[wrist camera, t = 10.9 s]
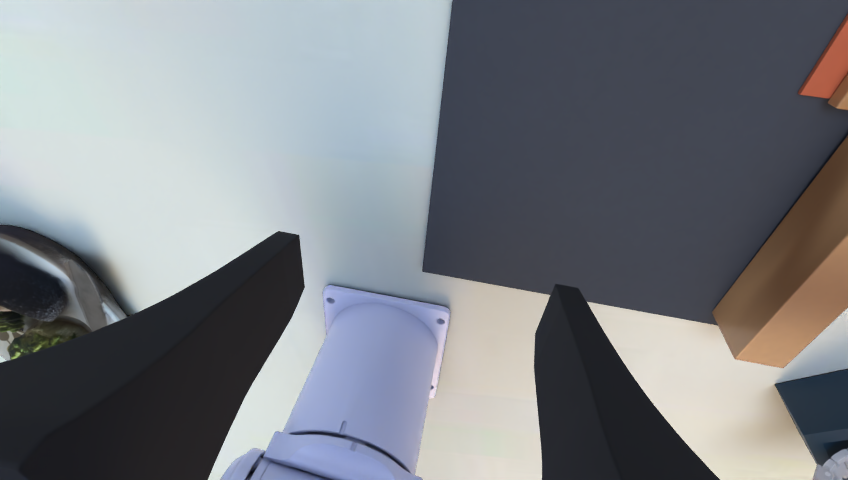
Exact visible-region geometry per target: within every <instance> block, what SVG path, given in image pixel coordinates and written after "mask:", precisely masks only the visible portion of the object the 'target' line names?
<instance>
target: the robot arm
mask: <svg viewBox="0 0 848 480" xmlns="http://www.w3.org/2000/svg"><path fill="white" fill-rule="evenodd" d="M304 288H305V286H304V277H303V267H302V258H301V249H300V239H299V235H296V234H291V233H286V232H280V231H278V232H276V233H275V234H273V235H271V236H270V237H268V238H267V239H265V240H264V241H262V242H260V243H259V244H257V245H256V246H254V247H253V248H251V249H250V250H248V251H247V252H245V253H244V254H242V255H240V256H239V257H237V258H236V259H234V260H233V261H231V262H229V263H228V264H226V265H225V266H223V267H221V268H220V269H218V270H217V271H215V272H213V273H212V274H210V275H208V276H206V277H205V278H203V279H201V280H199V281H198V282H196V283H194V284H192V285H191V286H189V287H187V288H185V289H184V290H182V291H180V292H178V293H176V294H174V295H173V296H171V297H169V298H167V299H165V300H163V301H161V302H159V303H157V304H155V305H153V306H150V307H148V308H146V309H144V310H142V311H140V312H138V313H136V314H133V315H131V316H129V317H127V318H124V319H122V320H119V321H117V322H114V323H112V324H110V325H107V326H105V327H102V328H100V329H97V330H95V331H93V332H90V333H88V334H85V335H82V336H80V337H77V338H74V339H72V340H69V341H66V342H63V343H61V344H58V345H55V346H52V347H49V348H46V349H43V350H40V351H37V352H34V353H31V354H28V355H25V356H22V357H18V358H15V359H12V360H9V361H5V362H2V363H0V480H208V477H209V475H210V473H211V470H212V468H213V465H214V463H215V461H216V459H217V456H218V454H219V452H220V450H221V447H222V445H223V443H224V441H225V438H226V436H227V434H228V432H229V429H230V427H231V425H232V423H233V421H234V419H235V417H236V415H237V413H238V410H239V408H240V406H241V404H242V402H243V400H244V398H245V396H246V394H247V392H248V390H249V389H250V387H251V385H252V383H253V381H254V380H255V378H256V377H257V375H258V373H259V372H260V370H261V368H262V367H263V365H264V363H265V362H266V360H267V358H268V357H269V355H270V353H271V352H272V350H273V348H274V347H275V345H276V343H277V342H278V340H279V338H280V337H281V335H282V333H283V332H284V330H285V328H286V326H287V325H288V323H289V321H290V320H291V318H292V316H293V313H294V311H295V309H296V307H297V304H298V302H299V300H300V297H301V295H302V292H303V290H304ZM331 298H333V299H331ZM323 302H324V313H325V324H326V335H327V336H326V338H325V340H324V343H323V345H322V347H321V349H320V351H319V354H318V356H317V358H316V360H315V362H314V364H313V367H312V369H311V371H310V373H309V375H308V377H307V380H306V382H305V384H304V386H303V388H302V391H301V393H300V395H299V397H298V399H297V401H296V404H295V406H294V408H293V410H292V412H291V414H290V417H289V419H288V421H287V423H286V425H285V428H284V430H283V432H278V431H277V432H275V433H274V435H273V437H272V439H271V442H270V444H269V446H268V448H267V450H266V452H265V451H264V450H261V449H258V448H253V449H251V450H250V451H248V452H247V453H246V454H244V455H242V456H240V457H239V458H237V459H236V460H234V461H233V462H232V464H231V465H230V466H229V467H228V469H227V470H226V472H225V473H224V475H223V476H222V478H221V479H220V480H423V479H422V478H421V477H418V476H416V475H415V471H416V466H417V460H418V455H419V450H420V444H421V439H422V433H423V428H424V422H425V417H426V411H427V406H428V400H429V398H434V397H435V396H436V391H437V385H438V380H439V374H440V369H441V363H442V358H443V352H444V347H445V342H446V336H447V331H448V325H449V320H450V314H451V313H450V310H449V309H448V308H447V307H444V306H439V305H434V304H429V303H423V302H418V301H413V300H407V299H402V298H397V297H391V296H386V295H381V294H375V293H370V292H365V291H360V290H354V289H349V288H344V287H338V286H333V285H328V286H326V287H325V288H324V290H323ZM440 319H443V320H440ZM534 371H535V383H536V395H537V406H538V416H539V427H540V438H541V450H542V480H720V479H719V478H718V477H717V476H716V475H715V474H714V473H713V472H712V471H711V470H710V469H709V468H708V467H707V466H706V465H705V464H704V462H703V461H702V460H701V459H700V458H699V457H698V456H697V455H696V454H695V453H694V452H693V451H692V450H691V448H690V447H689V446H688V445H687V444H686V443H685V442H684V441H683V439H682V438H681V437H680V436H679V435H678V434H677V433H676V431H675V430H674V429H673V428H672V427H671V425H670V424H669V423H668V422H667V421H666V419H665V418H664V417H663V416H662V414H661V413H660V412H659V411H658V410H657V408H656V407H655V406H654V405H653V403H652V402H651V401H650V399H649V398H648V397H647V395H646V394H645V393H644V391H643V390H642V389H641V387H640V386H639V384H638V383H637V382H636V380H635V379H634V377H633V376H632V375H631V373H630V372H629V370H628V369H627V367H626V366H625V364H624V363H623V361H622V360H621V358H620V357H619V355H618V353H617V352H616V350H615V349H614V347H613V346H612V344H611V342H610V341H609V339H608V338H607V336H606V334H605V333H604V331H603V329H602V328H601V326H600V324H599V323H598V321H597V319H596V317H595V316H594V314H593V312H592V311H591V309H590V307H589V305H588V303H587V302H586V300H585V298H584V296H583V295H582V293H581V291H580V290H579V288H576V287H570V286H565V285H560V284H555V286H554V288H553V291H552V293H551V296H550V298H549V301H548V303H547V306H546V308H545V311H544V313H543V316H542V318H541V321H540V323H539V326H538V328H537V330H536V333H535V355H534Z"/></svg>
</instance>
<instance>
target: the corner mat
mask: <svg viewBox="0 0 848 480" xmlns="http://www.w3.org/2000/svg"><path fill="white" fill-rule="evenodd" d="M847 74H848V0H453V2H452V11H451V20H450V29H449V38H448V47H447V56H446V65H445V73H444V82H443V91H442V100H441V109H440V118H439V127H438V136H437V145H436V154H435V163H434V172H433V181H432V190H431V199H430V208H429V217H428V226H427V235H426V244H425V253H424V262H423V272H428V273H433V274H439V275H444V276H450V277H455V278H461V279H466V280H472V281H477V282H483V283H488V284H494V285H499V286H505V287H510V288H516V289H521V290H527V291H532V292H538V293H543V294H549V295H551V293H552V291H553V288H554V286H555V284H560V285H565V286H570V287H576V288H579V290H580V291H581V293H582V295H583V296H584V298H585V300H586V301H587V302H593V303H598V304H604V305H609V306H614V307H620V308H625V309H631V310H636V311H642V312H647V313H653V314H658V315H664V316H669V317H675V318H680V319H686V320H691V321H697V322H702V323H708V324H713V325H718V324H717V322H716V320H715V318H714V316H713V314H712V311H713V310H714V309H715V308H716V306H717V305H718V304H719V302H720V301H721V300H722V298H723V297H724V296H725V295H726V293H727V292H728V291H729V289H730V288H731V287H732V285H733V284H734V283H735V282H736V280H737V279H738V278H739V276H740V275H741V274H742V272H743V271H744V270H745V268H746V267H747V266H748V265H749V263H750V262H751V261H752V259H753V258H754V257H755V255H756V254H757V253H758V252H759V250H760V249H761V248H762V246H763V245H764V244H765V242H766V241H767V240H768V239H769V237H770V236H771V235H772V233H773V232H774V231H775V229H776V228H777V227H778V226H779V224H780V223H781V222H782V220H783V219H784V218H785V216H786V215H787V214H788V213H789V211H790V210H791V209H792V207H793V206H794V205H795V203H796V202H797V201H798V200H799V198H800V197H801V196H802V194H803V193H804V192H805V190H806V189H807V188H808V186H809V185H810V184H811V183H812V181H813V180H814V179H815V177H816V176H817V175H818V173H819V172H820V171H821V170H822V168H823V167H824V166H825V164H826V163H827V162H828V160H829V159H830V158H831V157H832V155H833V154H834V153H835V151H836V150H837V149H838V147H839V146H840V145H841V144H842V142H843V141H844V140H845V138H846V137H847V136H848V110H844V109H837V108H835V107H834V106H832V105H830V104H829V103H828V101H829V100H830V98H831V97H832V95H833V94H834V92H835V91H836V90H837V88H838V87H839V85H840V84H841V82H842V81H843V80H844V78H845V77H846V75H847Z"/></svg>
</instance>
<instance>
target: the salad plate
mask: <svg viewBox="0 0 848 480" xmlns="http://www.w3.org/2000/svg"><path fill="white" fill-rule="evenodd" d="M127 317H128V316H127V315H126V314H125V313H124V311H123V310H122V309H121V308H120V306H119V305H118V303H117V302H116V300H115V299H114V298H113V296H112V295H111V293H110V292H109V290H108V288H107V287H106V286H105V285H104V283H103V282H102V281H101V280H100V279H99V278H98V277H97V276H96V275H95V274H94V272H93V271H92V270H91V269H90V268H89V267H88V266H87V265H86V264H85V263H84V262H83V261H82V260H81V259H80V258H78V257H77V256H76V255H75V254H73V253H72V252H70V251H69V250H67V249H66V248H64V247H63V246H61V245H59V244H58V243H56V242H54V241H52V240H50V239H48V238H46V237H44V236H42V235H39V234H37V233H34V232H32V231H30V230H26V229H23V228H19V227H15V226H9V225H0V356H2V357H3V358H4V359H5V360H7V361H9V360H12V359H15V358H18V357H22V356H25V355H28V354H31V353H34V352H37V351H40V350H43V349H46V348H49V347H52V346H55V345H58V344H61V343H63V342H66V341H69V340H72V339H74V338H77V337H80V336H82V335H85V334H88V333H90V332H93V331H95V330H97V329H100V328H102V327H105V326H107V325H110V324H112V323H114V322H117V321H119V320H122V319H124V318H127Z"/></svg>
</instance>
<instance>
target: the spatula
mask: <svg viewBox="0 0 848 480" xmlns="http://www.w3.org/2000/svg"><path fill="white" fill-rule="evenodd" d="M828 103H829V104H830V105H832V106H834V107H835V108H837V109H844V110H848V74H847V75H846V77H845V78H844V80H843V81H842V82H841V84H840V85H839V87H838V88H837V90H836V91H835V92H834V94H833V95H832V97H831V98H830V100H829V101H828ZM847 308H848V136H847V137H846V138H845V140H844V141H843V142H842V144H841V145H840V146H839V147H838V149H837V150H836V151H835V153H834V154H833V155H832V157H831V158H830V159H829V160H828V162H827V163H826V164H825V166H824V167H823V168H822V170H821V171H820V172H819V173H818V175H817V176H816V177H815V179H814V180H813V181H812V183H811V184H810V185H809V186H808V188H807V189H806V190H805V192H804V193H803V194H802V196H801V197H800V198H799V200H798V201H797V202H796V203H795V205H794V206H793V207H792V209H791V210H790V211H789V213H788V214H787V215H786V216H785V218H784V219H783V220H782V222H781V223H780V224H779V226H778V227H777V228H776V229H775V231H774V232H773V233H772V235H771V236H770V237H769V239H768V240H767V241H766V242H765V244H764V245H763V246H762V248H761V249H760V250H759V252H758V253H757V254H756V255H755V257H754V258H753V259H752V261H751V262H750V263H749V265H748V266H747V267H746V268H745V270H744V271H743V272H742V274H741V275H740V276H739V278H738V279H737V280H736V282H735V283H734V284H733V285H732V287H731V288H730V289H729V291H728V292H727V293H726V295H725V296H724V297H723V298H722V300H721V301H720V302H719V304H718V305H717V306H716V308H715V309H714V310H713V311H712V314H713V316H714V318H715V320H716V322H717V324H718V326H719V328H720V330H721V332H722V334H723V336H724V338H725V340H726V342H727V345H728V347H729V349H730V351H731V353H732V355H733V357H734V359H737V360H742V361H747V362H753V363H758V364H763V365H769V366H774V367H779V368H784V367H785V366H786V365H787V364H788V363H789V362H790V361H791V360H793V359H794V358H795V357H796V356H797V355H798V354H799V353H800V352H801V351H802V350H803V349H804V348H805V347H806V346H807V345H808V344H810V343H811V342H812V341H813V340H814V339H815V338H816V337H817V336H818V335H819V334H820V333H821V332H822V331H823V330H824V329H825V328H827V327H828V326H829V325H830V324H831V323H832V322H833V321H834V320H835V319H836V318H837V317H838V316H839V315H840V314H841V313H842V312H843V311H845V310H846V309H847Z"/></svg>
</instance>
